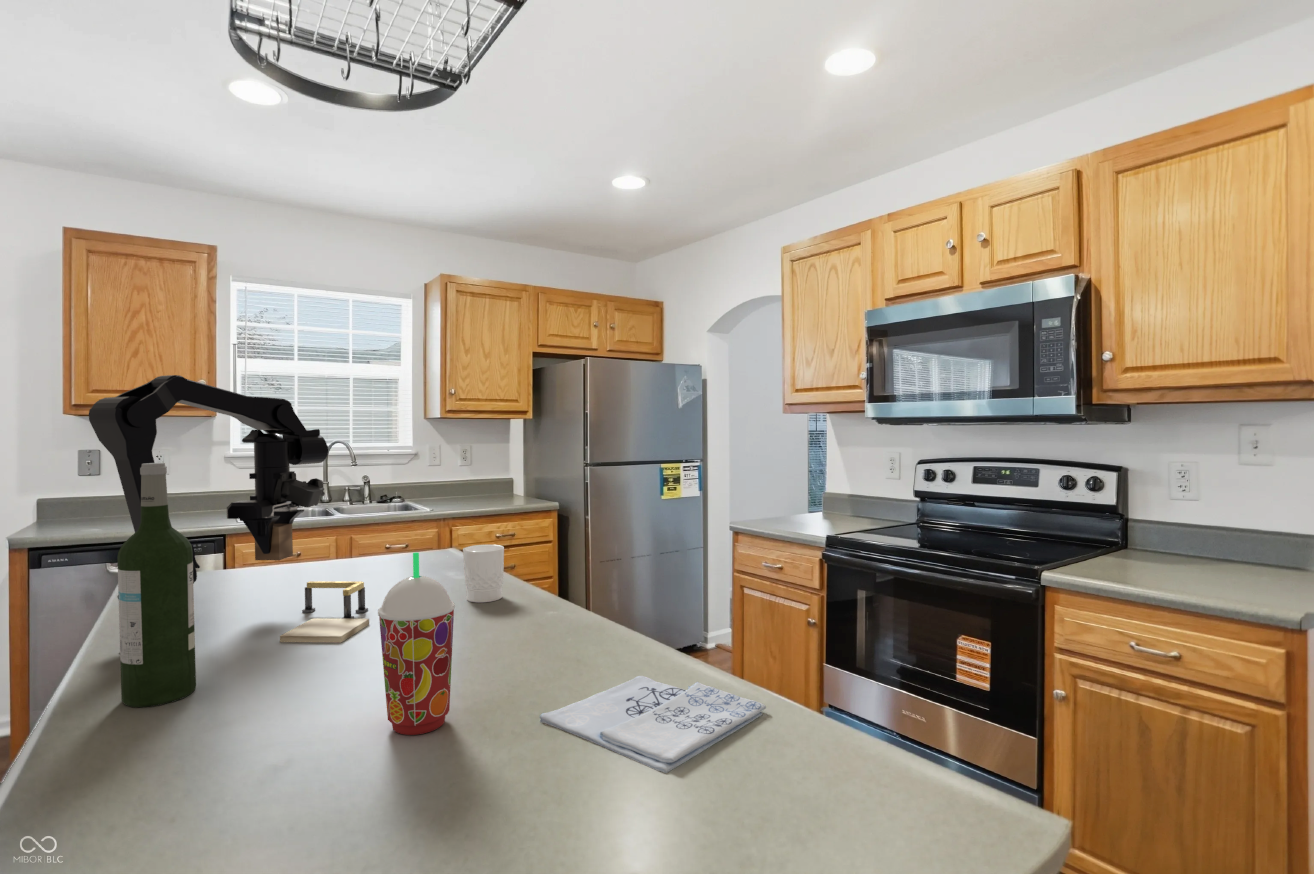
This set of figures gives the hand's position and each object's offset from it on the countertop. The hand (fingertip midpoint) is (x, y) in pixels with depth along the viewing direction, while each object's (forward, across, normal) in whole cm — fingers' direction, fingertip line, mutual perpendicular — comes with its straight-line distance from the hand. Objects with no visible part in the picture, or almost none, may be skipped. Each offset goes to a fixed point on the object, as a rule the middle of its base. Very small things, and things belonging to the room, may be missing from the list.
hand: (274, 551), depth 132 cm
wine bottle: (+11, -40, -8) cm, 42 cm away
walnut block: (+1, 0, 0) cm, 1 cm away
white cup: (+12, +10, -36) cm, 39 cm away
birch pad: (+11, -13, -16) cm, 24 cm away
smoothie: (+11, -48, -45) cm, 67 cm away
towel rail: (+11, -3, -11) cm, 16 cm away
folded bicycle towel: (+12, -46, -72) cm, 86 cm away
